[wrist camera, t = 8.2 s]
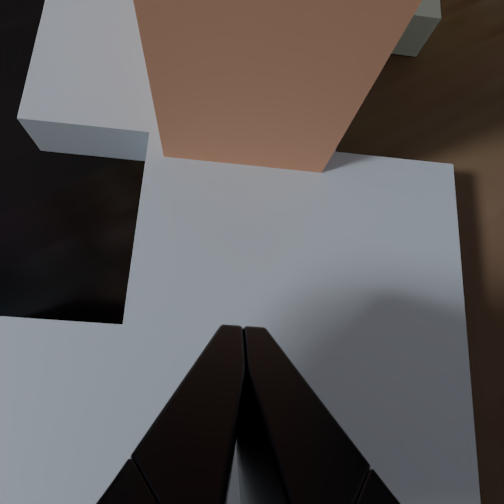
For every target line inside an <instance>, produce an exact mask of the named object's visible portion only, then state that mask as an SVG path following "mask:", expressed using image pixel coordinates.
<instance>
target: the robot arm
mask: <svg viewBox="0 0 504 504" xmlns="http://www.w3.org/2000/svg"><path fill="white" fill-rule="evenodd" d="M235 446H236V455H237V468H238V479H239V490H240V501H241V504H400V502H399V501H398V500H397V499H396V497H395V496H394V495H393V494H392V492H391V491H390V490H389V489H388V487H387V486H386V485H385V483H384V482H383V481H382V479H381V478H380V477H379V475H378V474H377V473H376V472H375V470H374V469H370V464H369V463H368V461H367V460H366V459H365V457H364V456H363V455H362V453H361V452H360V451H359V450H358V448H357V447H356V446H355V444H354V443H353V442H352V440H351V439H350V438H349V436H348V435H347V434H346V432H345V431H344V430H343V428H342V427H341V426H340V425H339V423H338V422H337V421H336V419H335V418H334V417H333V415H332V414H331V413H330V411H329V410H328V409H327V407H326V406H325V405H324V404H323V402H322V401H321V400H320V398H319V397H318V396H317V394H316V393H315V392H314V390H313V389H312V388H311V386H310V385H309V384H308V383H307V381H306V380H305V379H304V377H303V376H302V375H301V373H300V372H299V371H298V369H297V368H296V367H295V365H294V364H293V363H292V362H291V360H290V359H289V358H288V356H287V355H286V354H285V352H284V351H283V350H282V348H281V347H280V346H279V344H278V343H277V342H276V341H275V339H274V338H273V337H272V335H271V334H270V333H269V331H268V330H267V329H266V328H264V327H255V326H245V327H244V328H242V327H241V326H239V325H226V324H223V325H221V326H220V327H219V328H218V329H217V331H216V332H215V334H214V335H213V337H212V338H211V340H210V341H209V342H208V344H207V345H206V347H205V348H204V350H203V351H202V353H201V354H200V356H199V357H198V358H197V360H196V361H195V363H194V364H193V366H192V367H191V369H190V370H189V371H188V373H187V374H186V376H185V377H184V379H183V380H182V382H181V383H180V384H179V386H178V387H177V389H176V390H175V392H174V393H173V395H172V396H171V398H170V399H169V400H168V402H167V403H166V405H165V406H164V408H163V409H162V411H161V412H160V413H159V415H158V416H157V418H156V419H155V421H154V422H153V424H152V425H151V427H150V428H149V429H148V431H147V432H146V434H145V435H144V437H143V438H142V440H141V441H140V442H139V444H138V445H137V447H136V448H135V450H134V451H133V453H132V454H131V459H128V460H127V461H126V462H125V464H124V465H123V467H122V468H121V470H120V471H119V472H118V474H117V475H116V477H115V478H114V480H113V481H112V482H111V484H110V485H109V487H108V488H107V489H106V491H105V492H104V493H103V495H102V496H101V497H100V499H99V500H98V501H97V503H96V504H227V499H228V493H229V486H230V480H231V473H232V467H233V460H234V453H235Z"/></svg>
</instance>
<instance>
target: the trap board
mask: <svg viewBox="0 0 504 504" xmlns="http://www.w3.org/2000/svg"><path fill="white" fill-rule="evenodd" d="M440 20H441V7H440V0H422V1H421V3H420V5H419V7H418V8H417V10H416V12H415V14H414V15H413V17H412V19H411V20H410V22H409V24H408V26H407V27H406V29H405V31H404V32H403V34H402V36H401V38H400V39H399V41H398V43H397V44H396V46H395V48H394V50H393V51H392V53H391V54H398V55H406V56H414V57H416V56H417V55H418V53H419V52H420V50H421V49H422V47H423V46H424V44H425V43H426V41H427V40H428V38H429V37H430V35H431V34H432V32H433V31H434V29H435V28H436V26H437V25H438V23H439V22H440ZM17 119H18V120H19V121H20V123H21V124H22V126H23V127H24V128H25V130H26V131H27V132H28V134H29V135H30V136H31V138H32V139H33V140H34V142H35V143H36V144H37V146H38V147H39V148H40V150H41V151H50V152H60V153H70V154H80V155H90V156H100V157H110V158H120V159H130V160H140V161H145V167H144V174H143V182H142V189H141V196H140V203H139V210H138V217H137V224H136V231H135V239H134V246H133V253H132V260H131V267H130V274H129V281H128V289H127V296H126V303H125V310H124V317H123V324H108V323H93V322H78V321H64V320H49V319H34V318H19V317H5V316H0V504H96V503H97V501H98V500H99V499H100V497H101V496H102V495H103V493H104V492H105V491H106V489H107V488H108V487H109V485H110V484H111V482H112V481H113V480H114V478H115V477H116V475H117V474H118V472H119V471H120V470H121V468H122V467H123V465H124V464H125V462H126V461H127V460H128V459H131V454H132V453H133V451H134V450H135V448H136V447H137V445H138V444H139V442H140V441H141V440H142V438H143V437H144V435H145V434H146V432H147V431H148V429H149V428H150V427H151V425H152V424H153V422H154V421H155V419H156V418H157V416H158V415H159V413H160V412H161V411H162V409H163V408H164V406H165V405H166V403H167V402H168V400H169V399H170V398H171V396H172V395H173V393H174V392H175V390H176V389H177V387H178V386H179V384H180V383H181V382H182V380H183V379H184V377H185V376H186V374H187V373H188V371H189V370H190V369H191V367H192V366H193V364H194V363H195V361H196V360H197V358H198V357H199V356H200V354H201V353H202V351H203V350H204V348H205V347H206V345H207V344H208V342H209V341H210V340H211V338H212V337H213V335H214V334H215V332H216V331H217V329H218V328H219V327H220V326H221V325H223V324H226V325H239V326H241V327H242V328H244V327H245V326H255V327H264V328H266V329H267V330H268V331H269V333H270V334H271V335H272V337H273V338H274V339H275V341H276V342H277V343H278V344H279V346H280V347H281V348H282V350H283V351H284V352H285V354H286V355H287V356H288V358H289V359H290V360H291V362H292V363H293V364H294V365H295V367H296V368H297V369H298V371H299V372H300V373H301V375H302V376H303V377H304V379H305V380H306V381H307V383H308V384H309V385H310V386H311V388H312V389H313V390H314V392H315V393H316V394H317V396H318V397H319V398H320V400H321V401H322V402H323V404H324V405H325V406H326V407H327V409H328V410H329V411H330V413H331V414H332V415H333V417H334V418H335V419H336V421H337V422H338V423H339V425H340V426H341V427H342V428H343V430H344V431H345V432H346V434H347V435H348V436H349V438H350V439H351V440H352V442H353V443H354V444H355V446H356V447H357V448H358V450H359V451H360V452H361V453H362V455H363V456H364V457H365V459H366V460H367V461H368V463H369V464H370V469H374V470H375V472H376V473H377V474H378V475H379V477H380V478H381V479H382V481H383V482H384V483H385V485H386V486H387V487H388V489H389V490H390V491H391V492H392V494H393V495H394V496H395V497H396V499H397V500H398V501H399V502H400V504H481V501H480V489H479V476H478V464H477V452H476V439H475V427H474V415H473V402H472V390H471V378H470V365H469V353H468V341H467V328H466V316H465V304H464V291H463V279H462V267H461V254H460V242H459V230H458V217H457V205H456V192H455V180H454V168H453V164H447V163H437V162H428V161H418V160H409V159H399V158H390V157H381V156H371V155H362V154H352V153H343V152H336V149H335V151H334V153H333V154H332V156H331V158H330V160H329V161H328V163H327V165H326V167H325V168H324V170H323V172H322V173H319V172H309V171H299V170H290V169H280V168H270V167H261V166H251V165H241V164H231V163H222V162H212V161H202V160H192V159H183V158H173V157H164V155H163V150H162V145H161V140H160V135H159V130H158V124H157V119H156V114H155V109H154V104H153V99H152V94H151V89H150V84H149V79H148V73H147V68H146V63H145V58H144V53H143V48H142V43H141V38H140V33H139V28H138V22H137V17H136V12H135V7H134V2H133V0H45V4H44V8H43V12H42V16H41V20H40V24H39V29H38V33H37V37H36V41H35V45H34V49H33V54H32V58H31V62H30V66H29V70H28V74H27V79H26V83H25V87H24V91H23V95H22V99H21V104H20V108H19V112H18V116H17ZM227 504H241V501H240V490H239V479H238V468H237V455H236V446H235V453H234V460H233V467H232V473H231V480H230V486H229V493H228V499H227Z"/></svg>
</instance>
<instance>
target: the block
mask: <svg viewBox="0 0 504 504" xmlns="http://www.w3.org/2000/svg"><path fill="white" fill-rule="evenodd" d="M421 1H422V0H133V2H134V7H135V12H136V17H137V22H138V28H139V33H140V38H141V43H142V48H143V53H144V58H145V63H146V68H147V73H148V79H149V84H150V89H151V94H152V99H153V104H154V109H155V114H156V119H157V124H158V130H159V135H160V140H161V145H162V150H163V155H164V157H173V158H183V159H192V160H202V161H212V162H222V163H231V164H241V165H251V166H261V167H270V168H280V169H290V170H299V171H309V172H319V173H322V172H323V170H324V168H325V167H326V165H327V163H328V161H329V160H330V158H331V156H332V154H333V153H334V151H335V149H336V148H337V146H338V144H339V142H340V141H341V139H342V137H343V136H344V134H345V132H346V130H347V129H348V127H349V125H350V124H351V122H352V120H353V118H354V117H355V115H356V113H357V112H358V110H359V108H360V106H361V105H362V103H363V101H364V99H365V98H366V96H367V94H368V93H369V91H370V89H371V87H372V86H373V84H374V82H375V81H376V79H377V77H378V75H379V74H380V72H381V70H382V69H383V67H384V65H385V63H386V62H387V60H388V58H389V56H390V55H391V53H392V51H393V50H394V48H395V46H396V44H397V43H398V41H399V39H400V38H401V36H402V34H403V32H404V31H405V29H406V27H407V26H408V24H409V22H410V20H411V19H412V17H413V15H414V14H415V12H416V10H417V8H418V7H419V5H420V3H421Z"/></svg>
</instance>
